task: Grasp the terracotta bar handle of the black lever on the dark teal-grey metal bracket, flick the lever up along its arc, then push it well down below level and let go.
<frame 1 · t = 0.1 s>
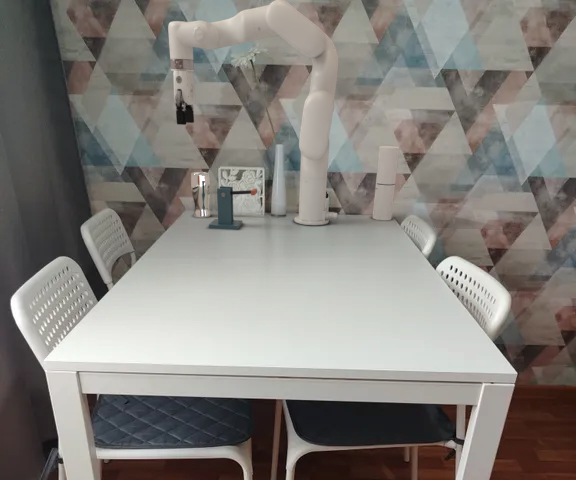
hand: (185, 123, 189), 31 cm above the table, tool pointing down, fingers open, 9 cm apart
bracket: (226, 226, 192), on the table
lever: (238, 192, 186), point 11 cm above the table, hinge at 5.0°
cylindrical container: (381, 218, 209), on the table
metal tumbler: (202, 216, 205), on the table
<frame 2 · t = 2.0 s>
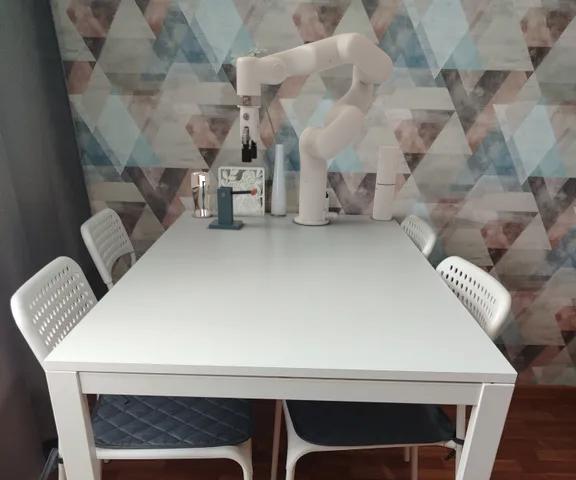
hand: (249, 160, 181), 22 cm above the table, tool pointing down, fingers open, 9 cm apart
nothing on the table moved.
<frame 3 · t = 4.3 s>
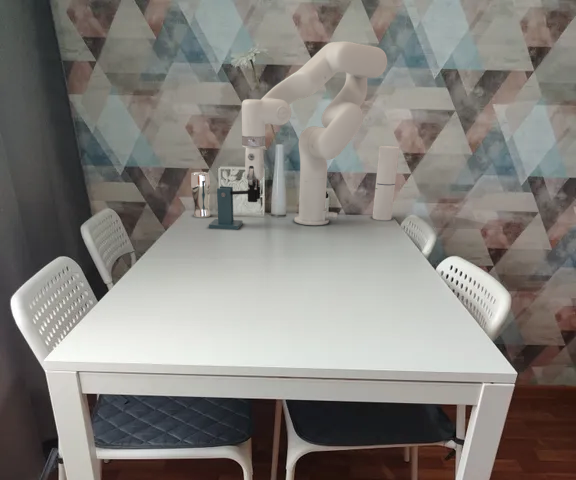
hand: (254, 199, 186), 9 cm above the table, tool pointing down, fingers closed on lever, 5 cm apart
lever: (238, 192, 186), point 11 cm above the table, hinge at 5.0°, touching gripper
everything else where it was.
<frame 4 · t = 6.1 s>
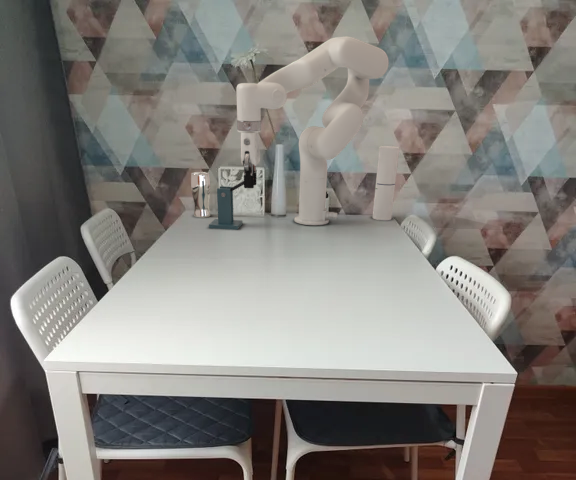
hand: (250, 185, 184), 14 cm above the table, tool pointing down, fingers closed on lever, 5 cm apart
lever: (236, 186, 185), point 13 cm above the table, hinge at 29.4°, touching gripper
everything else where it was.
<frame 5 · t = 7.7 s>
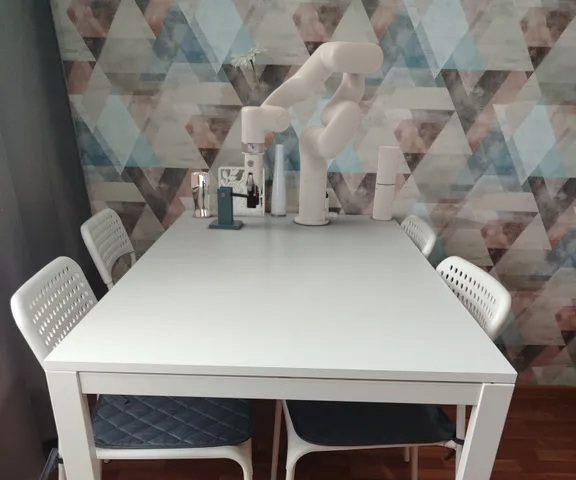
hand: (253, 205, 187), 7 cm above the table, tool pointing down, fingers closed on lever, 5 cm apart
lever: (238, 195, 186), point 11 cm above the table, hinge at -5.1°, touching gripper
everything else where it was.
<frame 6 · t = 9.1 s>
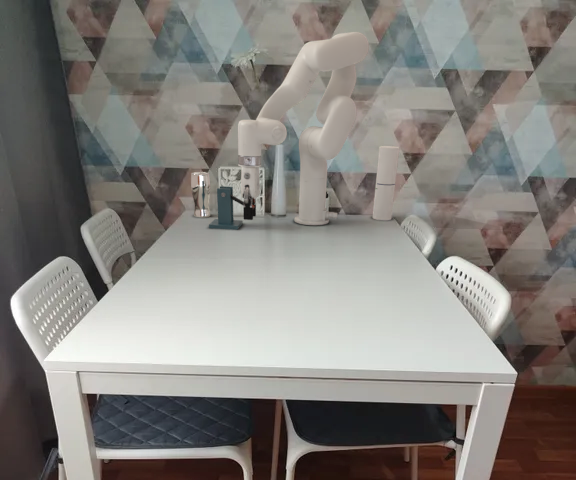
hand: (249, 217, 189), 3 cm above the table, tool pointing down, fingers closed on lever, 5 cm apart
lever: (237, 200, 187), point 9 cm above the table, hinge at -26.6°, touching gripper
everything else where it was.
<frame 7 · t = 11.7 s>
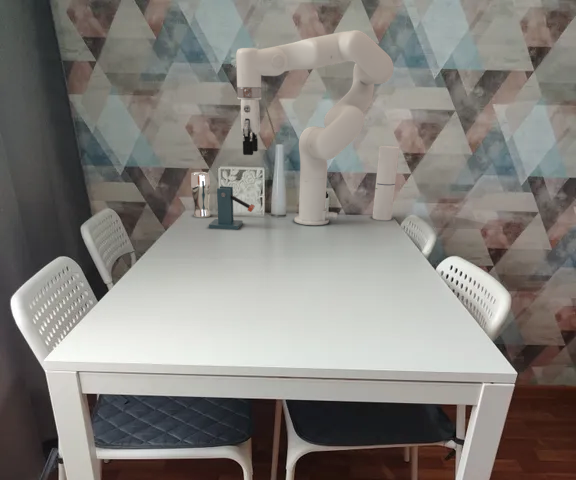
hand: (250, 153, 180), 24 cm above the table, tool pointing down, fingers open, 9 cm apart
lever: (237, 200, 187), point 9 cm above the table, hinge at -26.6°
everything else where it was.
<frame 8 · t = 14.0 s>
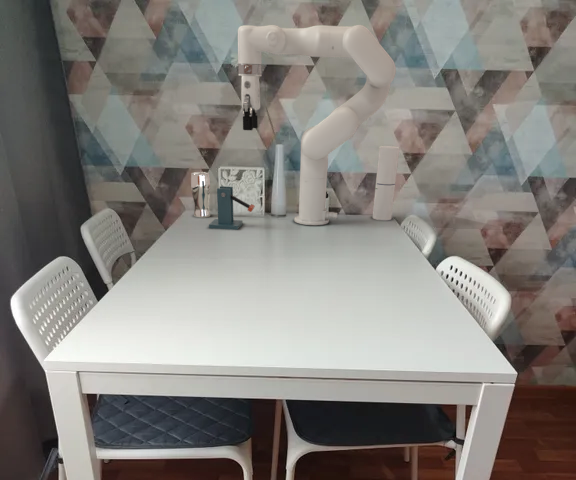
hand: (250, 129, 186), 30 cm above the table, tool pointing down, fingers open, 9 cm apart
nothing on the table moved.
at the end: lever reached +29° during the clip, -27° at the end; lever at -27° (first picture: +5°) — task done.
